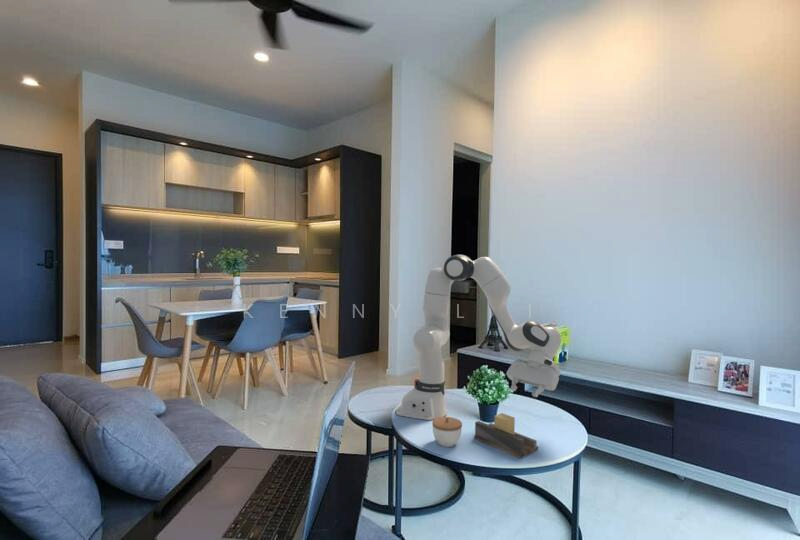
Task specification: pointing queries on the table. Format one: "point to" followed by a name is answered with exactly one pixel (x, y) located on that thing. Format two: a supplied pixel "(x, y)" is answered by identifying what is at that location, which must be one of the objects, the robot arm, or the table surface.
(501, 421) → the ochre block
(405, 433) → the table surface
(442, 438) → the lidded jar
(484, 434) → the base
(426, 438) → the table surface
